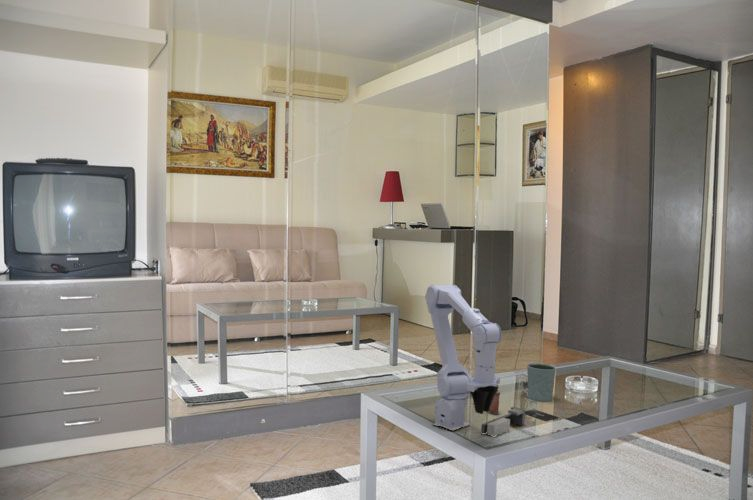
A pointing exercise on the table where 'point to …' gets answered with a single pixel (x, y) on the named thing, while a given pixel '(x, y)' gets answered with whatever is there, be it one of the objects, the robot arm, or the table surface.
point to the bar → (498, 426)
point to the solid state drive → (540, 415)
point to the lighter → (495, 404)
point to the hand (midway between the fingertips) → (482, 411)
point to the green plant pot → (540, 382)
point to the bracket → (515, 417)
